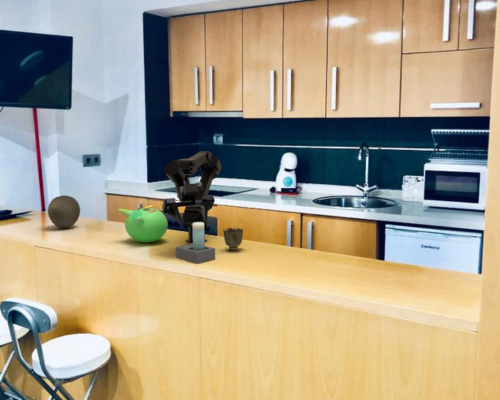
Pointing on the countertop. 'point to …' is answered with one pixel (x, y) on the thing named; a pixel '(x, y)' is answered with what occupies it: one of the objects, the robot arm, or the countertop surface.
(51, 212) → the cantaloupe
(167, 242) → the countertop surface
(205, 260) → the socket
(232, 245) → the cup
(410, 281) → the countertop surface
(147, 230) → the toy bird
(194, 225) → the peg
